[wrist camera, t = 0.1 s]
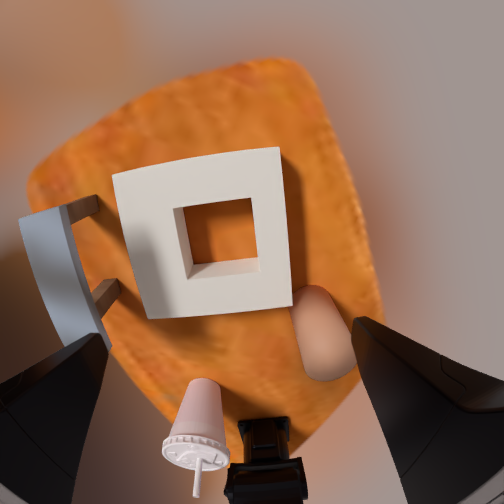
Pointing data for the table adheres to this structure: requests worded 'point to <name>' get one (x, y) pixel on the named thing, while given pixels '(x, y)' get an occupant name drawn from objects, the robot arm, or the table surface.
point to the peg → (321, 334)
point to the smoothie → (198, 431)
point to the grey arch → (66, 271)
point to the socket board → (177, 243)
